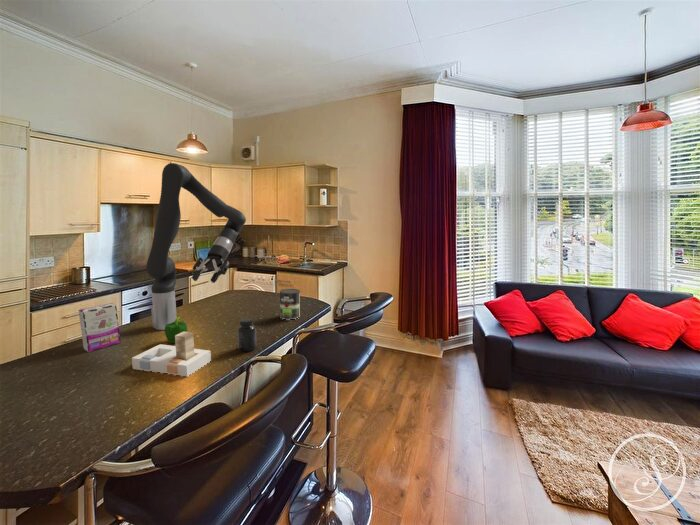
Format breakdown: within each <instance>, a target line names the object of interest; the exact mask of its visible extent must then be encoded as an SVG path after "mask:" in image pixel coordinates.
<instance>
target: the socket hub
mask: <svg viewBox="0 0 700 525" xmlns="http://www.w3.org/2000/svg"><path fill="white" fill-rule="evenodd" d="M194 352H195V356H194V357H192V358H190V359H189V360H187V361H184V360H181V359H177V358H176V345H168V344H158V345H156V346H154V347H152V348H149V349H148V350H145V351H143V352H141V353H139V354H137V355H134V356H133V357H131V365H132V366H131V367H132V370H139V371H143V370H144V371H145V372H150V371H152V373H157V372H160V373H159V374H163V373H168V374H167V375H170V374H174V375H173V376H176V375H181V376H180V377H183V376H186V377H185V378H188V377H190V376H191V375H192V373H193V374H194V373H196V372H197V371H199V370H200V369H202V368H203V367H205V366H206V365H208V364H209V363H210V361H211V362H212V354H211V350H207V349H199V348H194ZM207 363H208V364H207ZM204 365H205V366H204ZM201 367H202V368H201ZM198 369H199V370H198ZM195 371H196V372H195ZM190 374H191V375H190ZM189 375H190V376H189Z"/></svg>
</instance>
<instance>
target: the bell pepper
mask: <svg viewBox="0 0 700 525" xmlns="http://www.w3.org/2000/svg"><path fill="white" fill-rule="evenodd" d="M180 319H181V316H177V318H176V320H175V322H172V323H171V324H170V323H169V324H166V326H165V330H164V333H165V334H164V336H165V337H166V340H167V342H168V343H169V344H175V335H177V334H179V333H182V332H188V325H187V323H186V322H185V320H181V321H179V320H180Z"/></svg>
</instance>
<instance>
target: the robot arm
mask: <svg viewBox="0 0 700 525" xmlns="http://www.w3.org/2000/svg"><path fill="white" fill-rule="evenodd" d="M160 189H161V190H160V197H159V203H158V209H157V213H156V218H155V225H154V230H153V231H154V233H153V237H152V243H151V249H150V252H149V255H148V259H147V261H146V266H145V267H146V268H145V269H146V270H145V271H146V273H147V274H148V275H149V277H150V278H152V279H154V281H153V284H152V285H151V290H150V291H151V300H152V307H151V320H152V328H153V329H155V330H157V331H165V326H166V324H169V323H170V324H171V323H172V322H175V320H176V318H177V317H178V316H177V305H176V304H177V302H176V292H175V291H176V290H175V286H176V283H177V275H176V274H177V273H176V263H175V261H174V259H173V258H171V257H170V256H169V252H170V248H171V246H172V244H173V243H174V241H175V239H176V237H177V235H178V233H179V229H180V225H181V218H182V217H181V216H182V215H181V206H180V194H181V189H184V190H186V191H187V192H189V193H190V194H191V195H193V196H194V197H195V198H196V199H197V200H198V201H199V202H200V204H201V205H202V206H204V208H206V209H207V210H208V211H209V212H211V213H212V214H213V215H215V216H216V217H217V218H222V217H224V218H226V219H227V221H226V223H225V225H224V228H223V229H222V230H221V231H220V233H219V234H218V236H217V238H216V239H215V240H214V242H213V244H212V245H211V247H210V248H209V250H208V252H207V257H206V258H204V259H203V258H202V257H199V258H198V259H197V261H196V262H195V264H194V265H193V266H192V270H193V271H194V273H193V274H192V276H191V277H192V278H191V279H192V281H195V282H197V281H198V280H199V278H200V276H201V274H202V273H204V272H207V271H208V270H209V271H211V270H212V271H214V273H213V274H212V276H211V278H210V282H211V283H213V284H215V283H216V282H217V280H218V279H219V277H220V276H221V275H223V276H225V275H226V274H227V271H228V269H229V267H230V262H229V260H228V259H227V258H228V256H229V255H230V253H231V250H232V249H233V246H234V244H235V242H236V240H237V238H238V235H239V234H240V232H241V230H242V229H243V227H244V225H245V223H246V221H247V218H246V216H245V214H244V213H243V212H242V211H240V210H238V209H237V208H235V207H233V206H231V205H228V204H227V203H226V202H224V201H223V200H222V199H221V198H219V197H218V196H217V195H216V194H214V193H213V192H212V191H210V190H209V189H208V188H207V187H206V186H204V185H203V184H202V183H201V182H200V181H199V180H198V179H197V178H196V177H195V176H194V175H193V174H192V173H191V172H190V171H189V169H188V168H187V167H185V166H184V165H183V164H179V163H174V162H170V163H167V164H166V165H165V166H164V167H163V168H162V173H161V188H160Z"/></svg>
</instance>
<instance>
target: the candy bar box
mask: <svg viewBox="0 0 700 525" xmlns="http://www.w3.org/2000/svg"><path fill="white" fill-rule="evenodd" d="M78 317H79V325H80V331H81V339H82V346H83V350H84V351H86V352H88V353H92V352H94V351H98V350H101V349H105V348H109V347H111V346H114V345H119V344H120V343H121V335H120V326H119V318H118V317H119V316H118V309H117V305H116V304H115V303H110V302H109V303H105V304H100V305H95V306H91V307H87V308H86V307H85V308H81V309H78Z"/></svg>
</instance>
